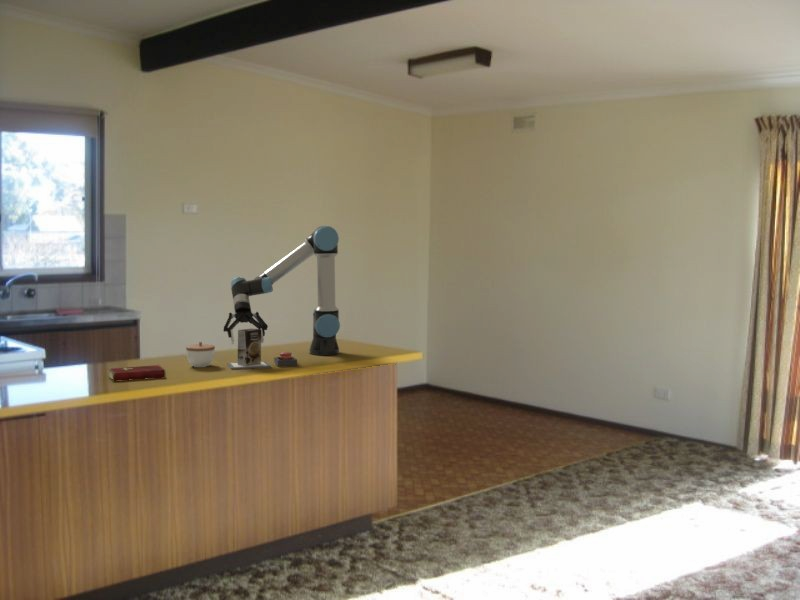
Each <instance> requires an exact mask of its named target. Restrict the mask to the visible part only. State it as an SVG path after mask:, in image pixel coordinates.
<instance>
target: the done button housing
mask: <svg viewBox="0 0 800 600" xmlns="http://www.w3.org/2000/svg"><path fill="white" fill-rule="evenodd" d="M274 363H275V364H276V365H277V366H276V365H275V364H274ZM273 364H274V365H275V366H276V367H278V366H287V367H298V359H297V358H296V357H294V356H291V359H290V360H280V356H275V357H273Z"/></svg>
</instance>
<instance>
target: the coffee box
mask: <svg viewBox="0 0 800 600" xmlns="http://www.w3.org/2000/svg"><path fill="white" fill-rule="evenodd" d="M261 362H262V343H261V329H258V328H246V329H244V328H243V329H238V330H237V363H238V365H243V366H250V365H257V364H261Z"/></svg>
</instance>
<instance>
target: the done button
mask: <svg viewBox="0 0 800 600" xmlns="http://www.w3.org/2000/svg"><path fill="white" fill-rule="evenodd" d="M279 357H280V360H290V359H291V357H292V352H290V351H281V352H279Z"/></svg>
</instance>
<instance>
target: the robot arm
mask: <svg viewBox="0 0 800 600" xmlns="http://www.w3.org/2000/svg"><path fill="white" fill-rule="evenodd" d="M339 240H340V239H339V233H338V232H337V230H336V229H335V228H334V227H332V226H331V225H330V226H329V225H321V226H318V227H317V228H316V229H314V231H313V232H312V233H311V234H309V235H308V236H307V237H306V238H304V242H302V244H300V245H299V246H297V247H296V248H295V249H293V250H292V251H291V252H289V253H288V254H287V255H285V256H284V257H282V258H281V259H279V261H277V262H275V263H274V264H273V265H272V266H270V267H269V268H268V269H266V270H265V271H264V272H262V273H261V274H260V275H258V276H256V277H255V278H254V279H251V280H246V278H244V277H240V276H237V277H235V278H232V280H231V282H230V290H231V295H232V300H233V309H234V313H232V312H229V313H228V318H227V320H226V322H225V324H224V326H223V330H222V331H223V332H224V333H225V332H227V336H228V338H230V342H231V343H230V344H231V345H234V342H235V338H234V332H233V330H234V329H235V327H236V326H237V325H238V324H239V323H241V324H243V323H250V324H252V325H253V326H254V327H255V328H256V329H261V344H263V343H264V341H265V338H264V337H265V335H266V332H265V331H267V330H268V327H269V325H268V324H267V323H266V322H265V320H264V319H263V318H262V317H261V316H260V314H259V312H258V311H256V312H254V313H253V311H252V309H251V307H252V306H251V302H250V297H253V296H259V295H264V294H270V293H272V292H273V291H274V287H273V285H274V284H275V283H277V282H278V281H280V280H281V279H282V278H284V277H285V276H286V275H288V274H289V273H290V272H292V271H293V270H294V269H296V268H297V267H298V266H300V265H301V264H303V263H304V262H305V261H306V260H308V259H309V258H310V257H312V256H315V257H316V263H317V264H316V268H317V270H316V271H317V273H316V274H317V280H316V281H317V307H316V308H314V309H313V312H312V315H313V319H312V320H313V322H312V323H313V324H312V331H313V333H312V334H313V335H312V337H313V338H312V340H311V343H310V347H309V354H310V353H311V355H314V354H315V356H335V354H336V355H339V354H340V347H339V343H338V340H337V333H338V332H339V330H340V327H341V324H340V319H339V318H340V315H339V314H340V313H339V308H338V307H337V306H336V259H335V258H336V257H337V255H338V254H339V252H338V251H339V250H338V248H339V245H338V244H339ZM233 318H234V319H235V320H233V322H232V319H233ZM231 322H232V323H231Z"/></svg>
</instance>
